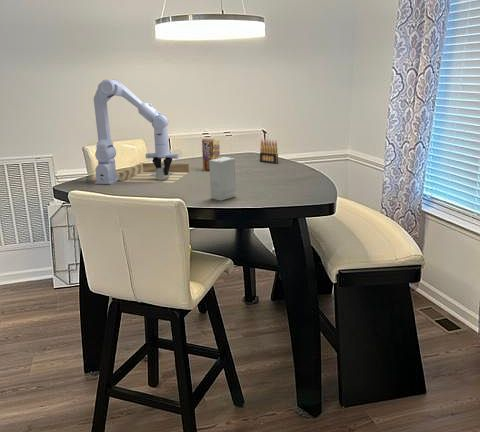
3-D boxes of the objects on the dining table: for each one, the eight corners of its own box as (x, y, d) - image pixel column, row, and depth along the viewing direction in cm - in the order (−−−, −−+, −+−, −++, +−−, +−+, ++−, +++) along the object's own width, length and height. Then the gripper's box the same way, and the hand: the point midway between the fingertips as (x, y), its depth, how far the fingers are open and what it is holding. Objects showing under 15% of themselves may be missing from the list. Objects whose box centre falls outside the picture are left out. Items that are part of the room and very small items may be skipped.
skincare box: (225, 194, 196) (224, 156, 192) (236, 196, 192) (235, 157, 188) (209, 198, 190) (208, 159, 186) (221, 201, 186) (219, 161, 182)
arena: (173, 184, 216) (172, 173, 215) (120, 183, 221) (119, 172, 220) (189, 173, 239) (188, 163, 238) (141, 172, 244) (140, 163, 243)
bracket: (163, 179, 219) (162, 168, 218) (151, 179, 220) (150, 168, 219) (169, 176, 226) (169, 165, 225) (158, 176, 227) (157, 165, 226)
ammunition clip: (259, 162, 265) (259, 139, 262) (261, 161, 267) (261, 138, 263) (276, 164, 259) (276, 140, 255) (278, 163, 260) (278, 140, 257)
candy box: (221, 171, 242) (219, 139, 238) (213, 173, 239) (212, 140, 235) (209, 169, 249) (208, 138, 244) (202, 170, 246) (201, 139, 242)
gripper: (180, 142, 221) (182, 173, 224) (148, 142, 224) (151, 172, 227) (175, 144, 214) (177, 176, 218) (142, 144, 217) (145, 175, 221)
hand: (163, 174), depth 222 cm, fingers closed on bracket, 2 cm apart
